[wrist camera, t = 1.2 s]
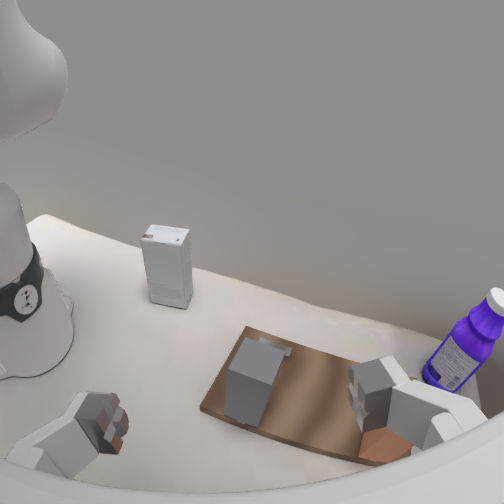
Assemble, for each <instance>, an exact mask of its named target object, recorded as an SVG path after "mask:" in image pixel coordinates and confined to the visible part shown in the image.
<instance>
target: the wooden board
mask: <svg viewBox="0 0 504 504" xmlns="http://www.w3.org/2000/svg"><path fill="white" fill-rule="evenodd" d="M245 337H247V338H250V339H252V340H255V341H258V342H261V343H263V344H266V345H269V346H272V347H275V348H278V349H280V350H283V351H286V352H285V355H284V358H283V361H282V364H281V368H280V371H279V374H278V377H277V380H276V383H275V386H274V389H273V392H272V395H271V398H270V400H269V403H268V405H267V407H266V410H265V412H264V414H263V417H262V419H261V421H260V423H259V426H258V428H257V427H254V426H251V425H249V424H246V423H243V422H241V421H238V420H236V419H233V418H231V417H228V416H226V415H224V409H225V397H226V384H227V373H228V367H229V366H230V364H231V362H232V360H233V358H234V357H235V355H236V353H237V351H238V349H239V348H240V346H241V344H242V342H243V340H244V339H245ZM356 364H360V363H358V362H354V361H351V360H347V359H344V358H341V357H338V356H334V355H331V354H328V353H325V352H321V351H318V350H315V349H312V348H309V347H306V346H303V345H300V344H297V343H294V342H291V341H288V340H285V339H282V338H279V337H276V336H273V335H270V334H268V333H265V332H262V331H259V330H256V329H253V328H251V327H248V326H246V327H245V328H244V330H243V332H242V334H241V335H240V337H239V339H238V341H237V343H236V344H235V346H234V348H233V350H232V351H231V353H230V355H229V357H228V358H227V360H226V362H225V363H224V365H223V367H222V369H221V370H220V372H219V374H218V376H217V377H216V379H215V381H214V382H213V384H212V386H211V388H210V389H209V391H208V393H207V394H206V396H205V398H204V399H203V401H202V403H201V405H200V411H202V412H204V413H207V414H209V415H211V416H214V417H216V418H218V419H221V420H223V421H225V422H228V423H230V424H233V425H235V426H238V427H240V428H243V429H246V430H248V431H251V432H254V433H256V434H259V435H262V436H265V437H268V438H271V439H273V440H276V441H279V442H282V443H286V444H289V445H292V446H295V447H298V448H302V449H305V450H308V451H312V452H316V453H319V454H323V455H327V456H331V457H334V458H339V459H343V460H347V461H351V462H356V463H360V464H365V465H370V466H375V467H378V466H381V465H385V464H388V463H384V462H379V461H374V460H369V459H364V458H359V457H358V454H359V450H360V446H361V441H362V437H363V433H362V432H361V429H360V427H359V424H358V422H357V420H356V419H357V413H356V412H354V411H353V410H352V408H351V405H350V401H349V395H348V385H349V384H350V383H351V381H350V379H349V376H348V369H349V366H352V365H356ZM408 377H409V376H408ZM409 379H410V380H411V381H413V380H417V379H416V378H412V377H409ZM410 455H411V448H410V449H409V450H407V451H406V452H404V453H403V454H402V455H400V456H399V457H397V458H396V459H394V460H393V461H391V462H394V461H397V460H400V459H402V458H405V457H408V456H410ZM391 462H390V463H391Z"/></svg>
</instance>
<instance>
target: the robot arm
mask: <svg viewBox="0 0 504 504" xmlns="http://www.w3.org/2000/svg"><path fill="white" fill-rule="evenodd" d="M67 86H68V68H67V64H66V61H65V58H64V56H63V54H62V52H61V51H60V49H59V48H58V47H57V46H56V45H55V44H54V43H53V42H52V41H50V40H48V39H47V38H45V37H43V36H42V35H40V34H39V33H38V32H36V31H35V30H34V29H33V28H32V27H31V26H30V25H29V24H28V22H27V21H26V20H25V19H24V17H23V15H22V14H21V12H20V10H19V7H18V4H17V1H16V0H0V144H2V143H5V142H8V141H11V140H14V139H17V138H19V137H21V136H23V135H25V134H27V133H29V132H31V131H33V130H35V129H36V128H38V127H40V126H42V125H44V124H46V123H48V122H50V121H52V120H53V118H54V117H55V116H56V114H57V113H58V111H59V109H60V107H61V105H62V103H63V101H64V98H65V95H66V91H67ZM72 309H73V302H72V300H71V299H70V298H69V297H67V296H64V295H62V293H61V291H60V289H59V287H58V285H57V282H56V280H55V278H54V276H53V273H52V272H51V270H49V269H46V268H44V267H43V266H42V262H41V258H40V255H39V253H38V251H37V249H36V247H35V245H34V244H33V243H32V242H31V240H30V236H29V233H28V230H27V226H26V222H25V219H24V215H23V211H22V207H21V203H20V199H19V198H18V195H17V194H16V192H15V191H14V190H13V189H12V188H11V187H10V186H9V185H7V184H5V183H3V182H1V181H0V379H4V378H8V377H11V376H18V377H32V376H37V375H40V374H42V373H45V372H47V371H48V370H50V369H52V368H53V367H54V366H56V365H57V364H58V363H59V362H60V361H61V360H62V359H63V358H64V356H65V355H66V353H67V352H68V350H69V348H70V346H71V343H72V340H73V333H74V329H73V323H72V320H71V313H72ZM348 376H349V379H350V381H351V383H350V384H349V385H348V395H349V401H350V405H351V408H352V410H353V411H354V412H356V413H357V419H356V420H357V422H358V424H359V427H360V429H361V432H362V433H364V432H368V431H372V430H376V429H379V428H383V427H386V428H387V429H389V430H391V431H392V432H394V433H395V434H397V435H399V436H400V437H402V438H403V439H405V440H407V441H408V442H410V443H411V444H413V445H415V446H416V447H418V448H420V449H421V450H422V451H421V452H419V453H416V454H413V455H411V456H408V457H405V458H402V459H400V460H397V461H394V462H391V463H388V464H385V465H381V466H378V467H375V468H372V469H368V470H365V471H361V472H357V473H354V474H350V475H346V476H342V477H337V478H333V479H328V480H324V481H319V482H314V483H308V484H303V485H297V486H290V487H283V488H276V489H268V490H258V491H247V492H232V493H166V492H151V491H140V490H131V489H123V488H115V487H109V486H103V485H97V484H91V483H86V482H81V481H77V480H72V478H73V477H74V476H76V475H77V474H78V473H79V472H80V471H81V470H82V469H83V468H84V467H86V466H87V465H88V464H89V463H90V462H91V461H92V460H93V459H94V458H95V457H96V456H98V455H99V453H103V454H116V455H118V454H119V451H120V449H121V446H122V444H123V441H122V439H121V437H123V436H124V435H125V434H126V433H127V430H128V422H129V421H128V417H127V414H126V412H125V410H124V409H122V408H121V407H120V406H119V403H120V400H119V399H118V397H117V395H116V394H114V393H105V392H83V391H81V392H79V393H77V395H76V396H75V398H74V399H73V401H72V402H71V404H70V406H69V407H68V409H67V410H66V412H65V413H64V415H63V416H62V417H58V418H56V419H54V420H53V421H51V422H49V423H48V424H46V425H44V426H42V427H41V428H39V429H37V430H36V431H34V432H32V433H30V434H29V435H27V436H25V437H23V438H22V439H20V440H18V441H17V442H16V443H15V445H14V446H13V448H12V449H11V451H10V452H9V454H8V455H7V457H6V458H5V459H2V458H0V504H504V411H503V412H501V413H500V414H498V415H496V416H494V417H493V418H491V419H489V420H488V419H487V418H486V417H485V415H484V414H483V413H482V412H481V410H480V409H479V408H478V407H477V406H476V404H475V403H474V402H473V401H472V400H471V399H469V398H466V397H463V396H460V395H457V394H454V393H451V392H448V391H445V390H442V389H439V388H436V387H434V386H431V385H428V384H425V383H422V382H419V381H417V380H413V381H411V380H410V379H409V377H408V376H407V375H406V373H405V372H404V371H403V369H402V368H401V366H400V365H399V364H398V362H397V361H396V360H395V358H394V357H393V356H392V355H388V356H385V357H381V358H378V359H376V360H372V361H368V362H364V363H360V364H356V365H352V366H349V369H348Z"/></svg>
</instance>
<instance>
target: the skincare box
mask: <svg viewBox="0 0 504 504" xmlns="http://www.w3.org/2000/svg"><path fill="white" fill-rule="evenodd" d="M141 246H142V252H143V258H144V265H145V270H146V276H147V282H148V287H149V293H150V298H151V302H153V303H158V304H163V305H168V306H173V307H179V308H184V309H187V307H188V304H189V301H190V299H191V296H192V294H193V285H192V265H191V243H190V230H189V229H181V228H174V227H167V226H160V225H151V226H150V227H149V229H148V230H147V231H146V233H145V234H144V236H143V237H142V238H141Z"/></svg>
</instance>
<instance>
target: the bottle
mask: <svg viewBox="0 0 504 504" xmlns="http://www.w3.org/2000/svg"><path fill="white" fill-rule="evenodd" d="M503 325H504V291H503V290H501V289H499V288H492V289H491V291H490V293H489V294H488V295H487V297H486V298H485V299H484V300H483V302H482V303H481V304H479V305H478V306H476V307H474V308H472V309H471V310H470V312H469V315H468V316H466V317H465V318H462V319H461V320H459V321H458V322H457V323H456V324H455V326H454V328H453V329H452V330H451V332H450V333H449V334H448V336H447V337H446V338H445V340H444V341H443V342H442V344H441V345H440V346H439V347H438V349H437V350H436V351H435V353H434V354H433V355H432V356H431V358H430V359H429V360H428V361H427V363H426V365H425V367H424V371H423V375H424V378H425V379H426V381H427V382H428V384H429V385H431V386H434V387H436V388H439V389H442V390H445V391H448V392H451V393H454V392H456V391H457V390H458V389H459V388H460V387H461V386H462V385H463V384H464V383H465V382H466V381H467V380H468V379H469V378H470V377H471V376H472V375H473V374H474V373H475V372H476V370H478V368H479V367H480V366H481V365H482V364H483V363H484V362H485V361H486V359H487V358H488V357H490V355H491V353H492V350H493V347H494V344H495V340H496V339H498V338H499V337H500V336H501V333H502V327H503Z"/></svg>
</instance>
